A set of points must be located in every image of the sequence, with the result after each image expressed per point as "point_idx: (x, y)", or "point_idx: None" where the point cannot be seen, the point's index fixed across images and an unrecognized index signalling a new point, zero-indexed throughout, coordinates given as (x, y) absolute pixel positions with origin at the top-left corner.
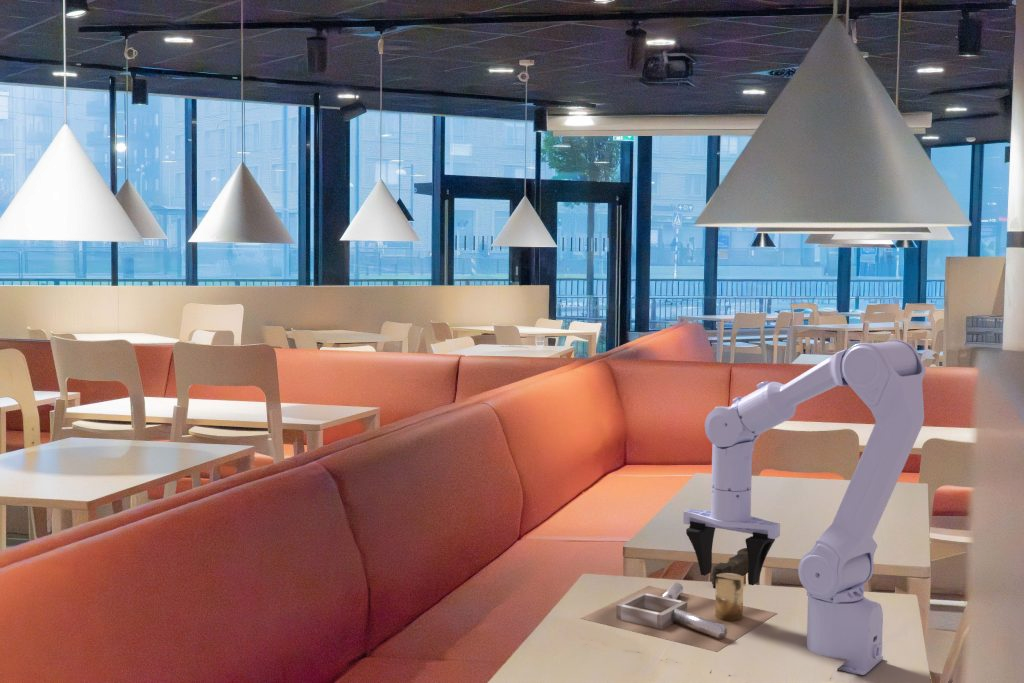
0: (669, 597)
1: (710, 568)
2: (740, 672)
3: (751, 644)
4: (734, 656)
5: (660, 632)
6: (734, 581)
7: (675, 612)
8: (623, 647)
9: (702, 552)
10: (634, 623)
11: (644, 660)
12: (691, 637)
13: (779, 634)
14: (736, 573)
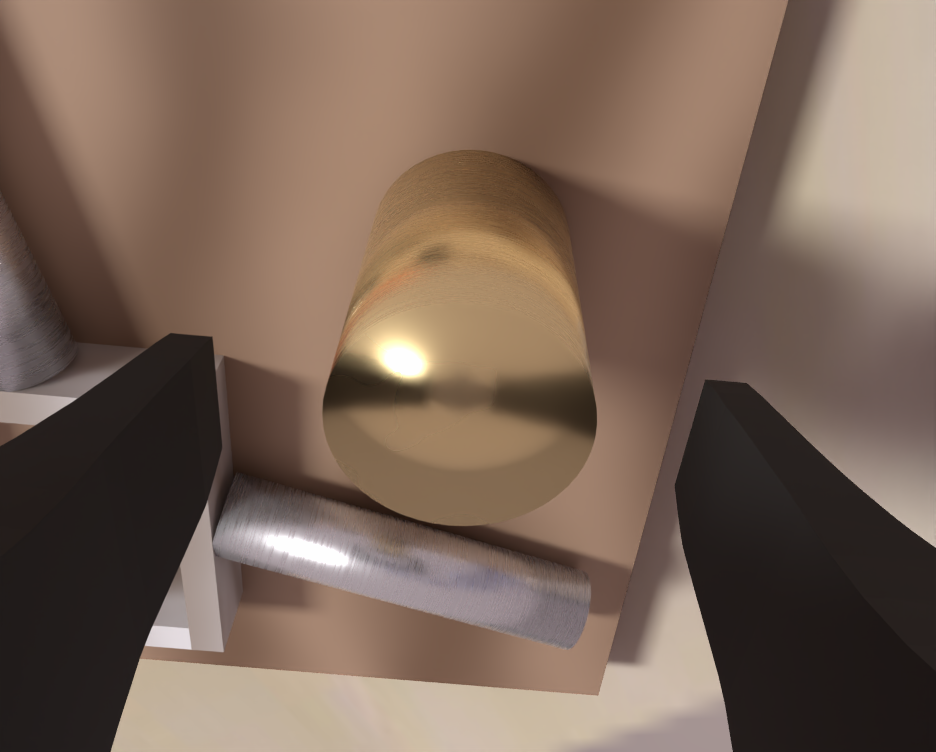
0: (21, 352)
1: (199, 366)
2: (712, 687)
3: (685, 411)
4: (644, 572)
5: (263, 624)
6: (543, 500)
7: (239, 560)
8: (179, 675)
9: (134, 658)
10: None
11: (328, 732)
12: (424, 617)
13: (824, 176)
14: None
